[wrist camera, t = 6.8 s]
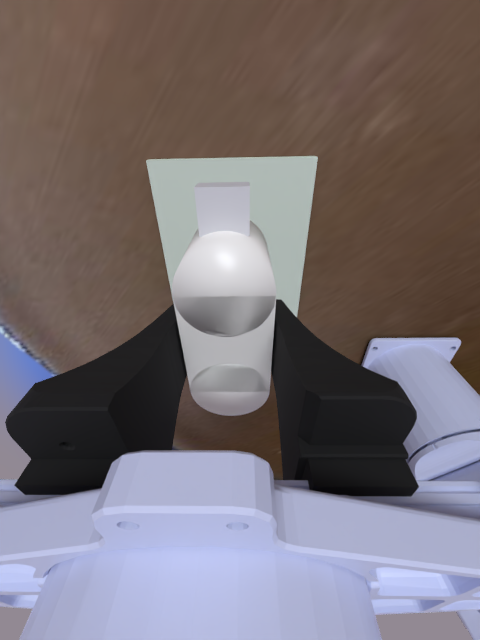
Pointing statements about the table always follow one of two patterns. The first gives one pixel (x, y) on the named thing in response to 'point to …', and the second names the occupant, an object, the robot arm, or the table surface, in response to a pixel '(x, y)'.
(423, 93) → the table surface
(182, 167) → the sage pad
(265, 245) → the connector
